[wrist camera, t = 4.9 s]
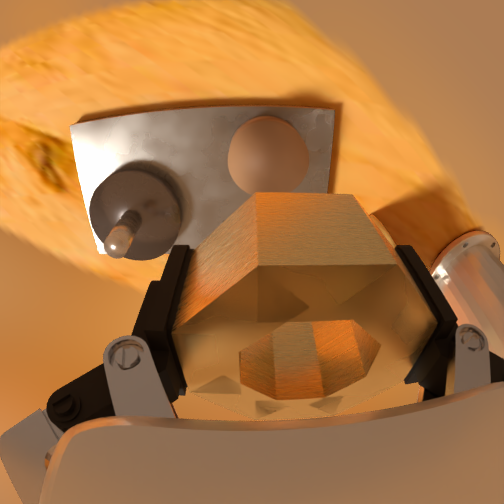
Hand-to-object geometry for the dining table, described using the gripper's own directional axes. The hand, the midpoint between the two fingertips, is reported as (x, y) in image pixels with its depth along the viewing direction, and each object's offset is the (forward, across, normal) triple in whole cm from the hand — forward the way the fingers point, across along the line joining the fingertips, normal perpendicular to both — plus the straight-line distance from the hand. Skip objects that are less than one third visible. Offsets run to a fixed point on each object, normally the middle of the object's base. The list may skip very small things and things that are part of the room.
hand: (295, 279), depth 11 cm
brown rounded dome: (+17, 0, 0) cm, 17 cm away
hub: (+17, +12, +5) cm, 22 cm away
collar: (0, 0, 0) cm, 0 cm away
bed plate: (+17, +6, +3) cm, 19 cm away
